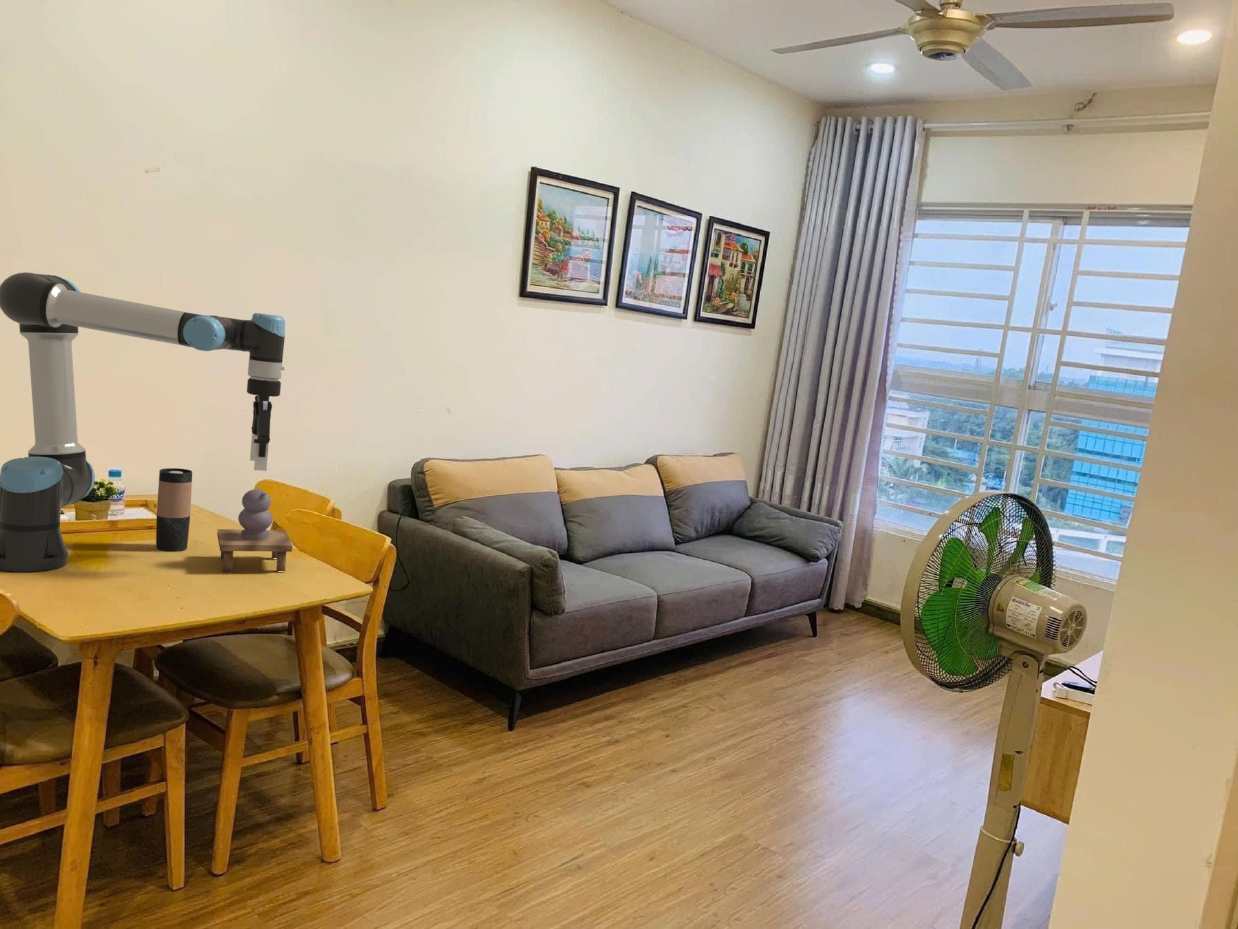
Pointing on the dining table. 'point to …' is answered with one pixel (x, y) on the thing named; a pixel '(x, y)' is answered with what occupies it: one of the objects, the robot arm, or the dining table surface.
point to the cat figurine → (255, 515)
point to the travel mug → (173, 509)
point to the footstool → (253, 546)
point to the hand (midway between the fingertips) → (257, 465)
